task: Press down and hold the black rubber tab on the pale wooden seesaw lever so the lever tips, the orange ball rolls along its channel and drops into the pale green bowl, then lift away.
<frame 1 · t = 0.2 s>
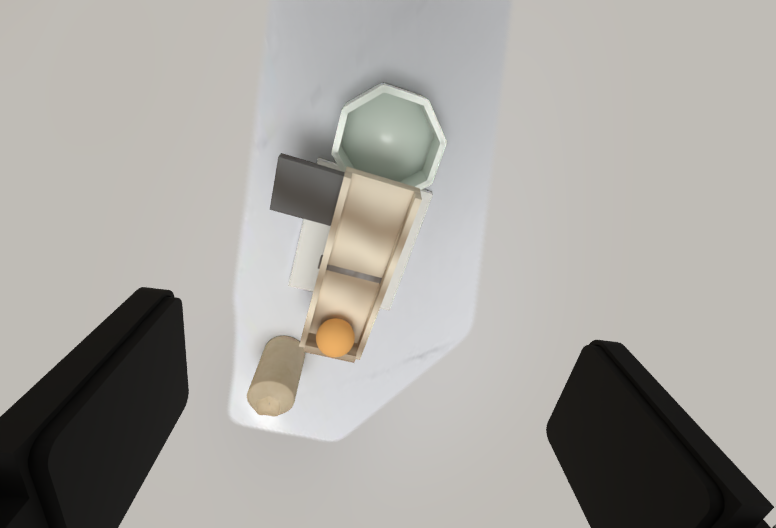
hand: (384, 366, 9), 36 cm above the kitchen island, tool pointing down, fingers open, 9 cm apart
ball: (335, 337, 41), point 10 cm above the kitchen island, tilted 12°, touching lever
lever: (326, 269, 38), point 9 cm above the kitchen island, hinge at 6.0°, touching ball
lever stand: (357, 239, 46), on the kitchen island
candle: (285, 350, 54), on the kitchen island
pale green bowl: (387, 139, 41), on the kitchen island
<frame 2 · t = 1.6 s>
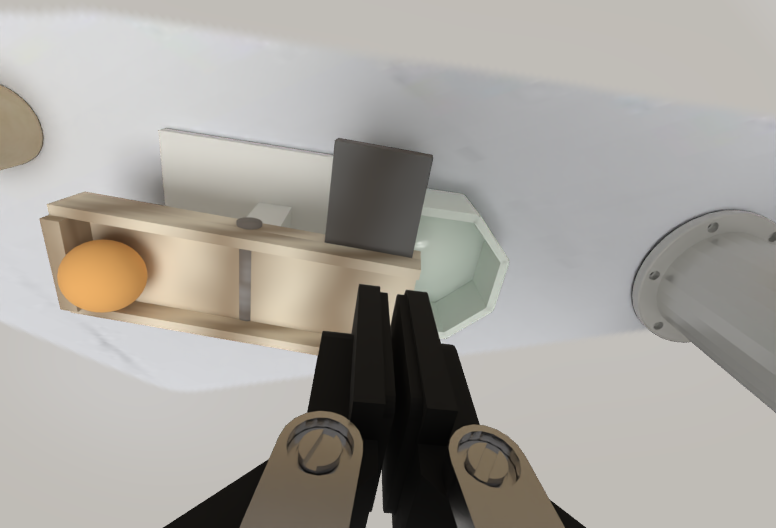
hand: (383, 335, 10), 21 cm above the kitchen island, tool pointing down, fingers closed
ball: (104, 275, 21), point 10 cm above the kitchen island, tilted 12°, touching lever
lever: (242, 242, 22), point 9 cm above the kitchen island, hinge at 6.0°, touching ball
lever stand: (277, 229, 31), on the kitchen island
candle: (3, 124, 27), on the kitchen island
pale green bowl: (424, 249, 32), on the kitchen island
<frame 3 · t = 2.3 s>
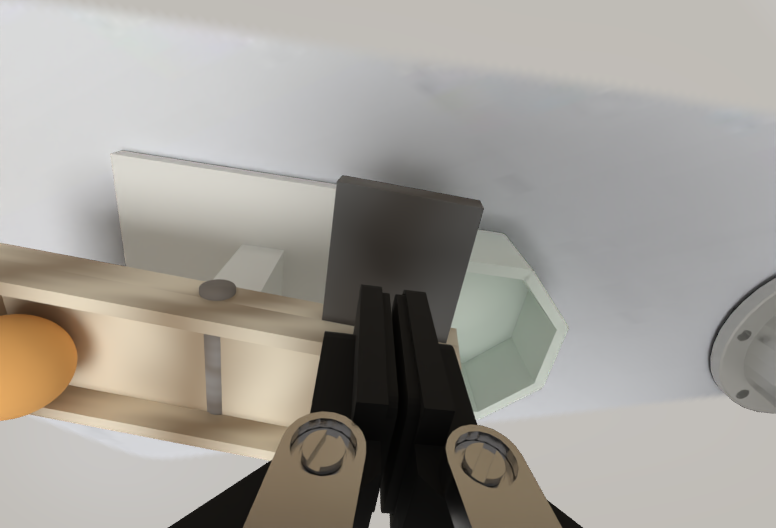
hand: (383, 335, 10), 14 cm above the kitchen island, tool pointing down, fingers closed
ball: (11, 365, 15), point 10 cm above the kitchen island, tilted 12°, touching lever
lever: (206, 318, 16), point 9 cm above the kitchen island, hinge at 6.0°, touching ball
lever stand: (266, 275, 25), on the kitchen island
pale green bowl: (451, 300, 26), on the kitchen island
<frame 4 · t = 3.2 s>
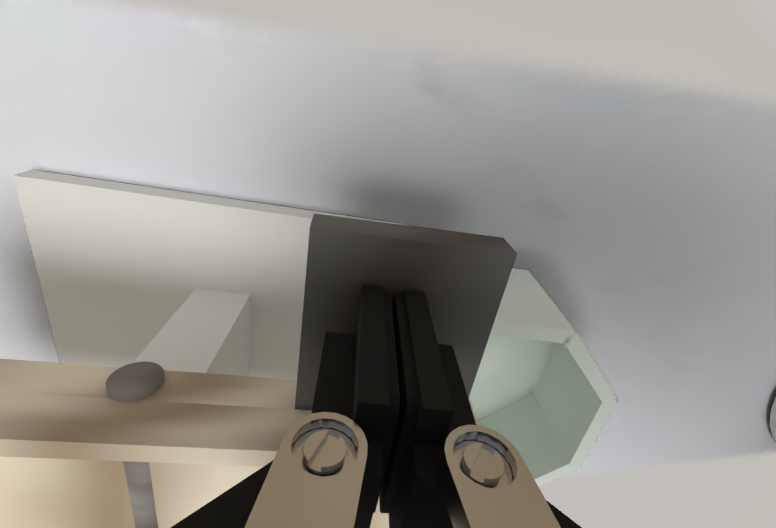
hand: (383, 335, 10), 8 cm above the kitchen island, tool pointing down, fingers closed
lever: (122, 428, 11), point 9 cm above the kitchen island, hinge at -3.0°, touching gripper
lever stand: (231, 322, 20), on the kitchen island
pale green bowl: (461, 349, 21), on the kitchen island
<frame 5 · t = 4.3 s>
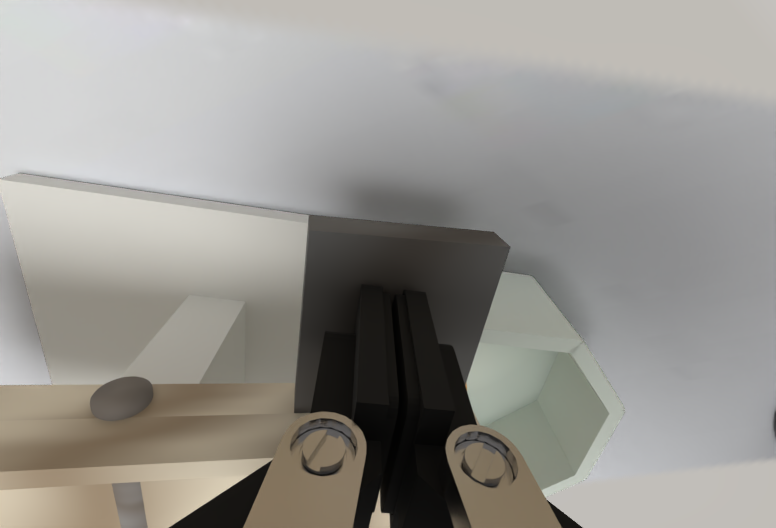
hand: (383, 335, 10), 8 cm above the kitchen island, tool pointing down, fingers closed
lever: (111, 448, 10), point 9 cm above the kitchen island, hinge at -8.9°, touching gripper
lever stand: (226, 329, 19), on the kitchen island
pale green bowl: (462, 356, 20), on the kitchen island
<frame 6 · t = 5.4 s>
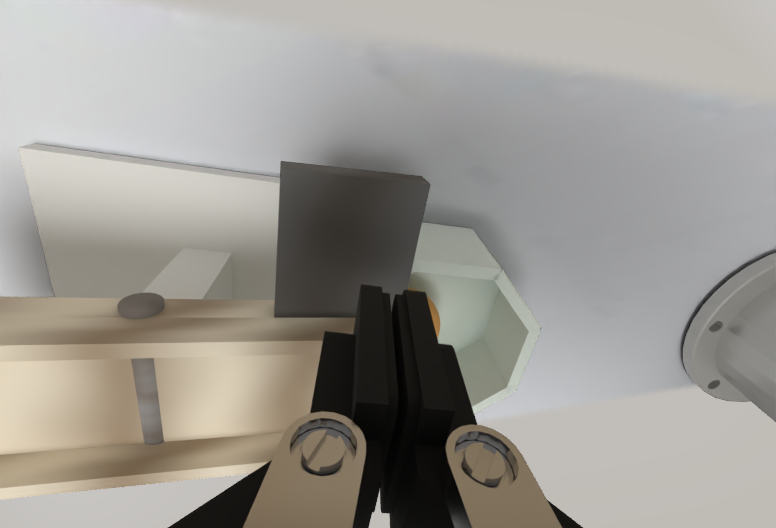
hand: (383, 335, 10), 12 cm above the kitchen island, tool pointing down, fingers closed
lever: (135, 340, 13), point 9 cm above the kitchen island, hinge at -8.9°
lever stand: (215, 280, 22), on the kitchen island
pale green bowl: (418, 300, 24), on the kitchen island
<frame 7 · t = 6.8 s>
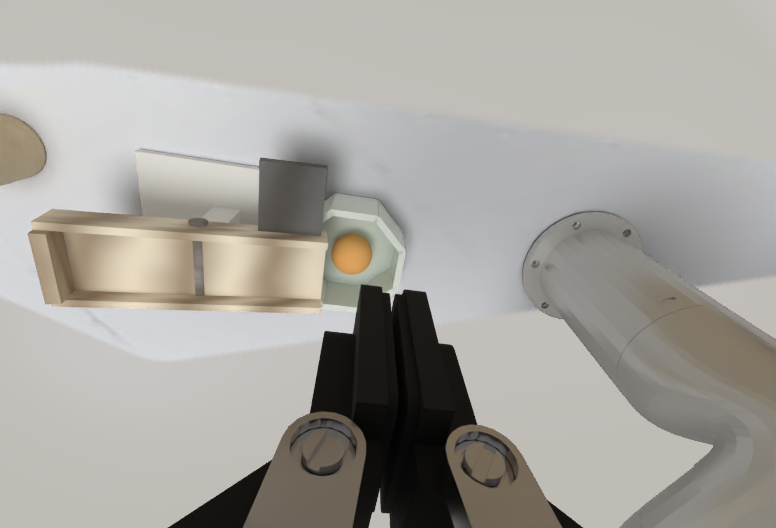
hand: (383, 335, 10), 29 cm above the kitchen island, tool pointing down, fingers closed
ball: (351, 254, 38), point 3 cm above the kitchen island, tilted 158°, touching pale green bowl
lever: (195, 236, 30), point 9 cm above the kitchen island, hinge at -8.9°
lever stand: (231, 227, 39), on the kitchen island
candle: (15, 145, 35), on the kitchen island
pale green bowl: (350, 243, 41), on the kitchen island
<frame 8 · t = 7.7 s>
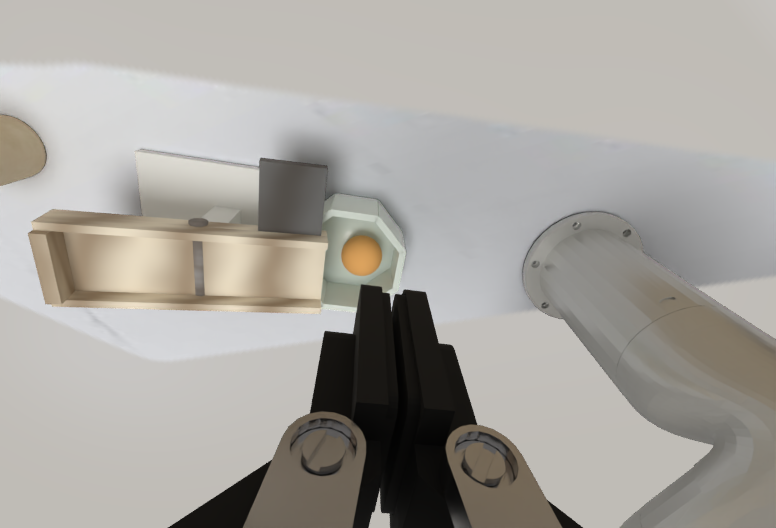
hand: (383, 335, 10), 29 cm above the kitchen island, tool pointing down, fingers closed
ball: (361, 255, 38), point 3 cm above the kitchen island, tilted 174°, touching pale green bowl
lever: (196, 236, 30), point 9 cm above the kitchen island, hinge at -8.9°
lever stand: (231, 227, 39), on the kitchen island
candle: (15, 146, 35), on the kitchen island
pale green bowl: (350, 243, 41), on the kitchen island
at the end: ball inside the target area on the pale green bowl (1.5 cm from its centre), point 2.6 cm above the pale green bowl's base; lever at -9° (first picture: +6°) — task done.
